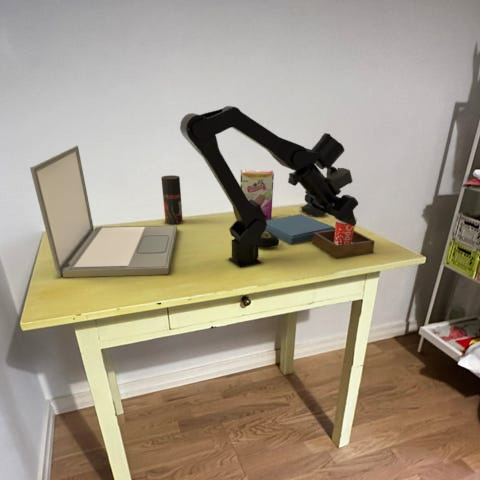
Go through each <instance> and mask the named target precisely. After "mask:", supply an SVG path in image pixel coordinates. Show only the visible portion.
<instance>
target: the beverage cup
mask: <svg viewBox="0 0 480 480" xmlns="http://www.w3.org/2000/svg"><path fill="white" fill-rule="evenodd" d="M354 217H355V220H356V223H357V221H358V218H357V217H356V216H354ZM334 221H335V226H334V228H335V239H334V242H333V243H334V244H336V245H343V244H350V243H352V242H351V241H352V236H353V232H354V231H355V226H356V225H355V226H352V225H349V224H347V223H345V222H342V221H340V220H338V219H336V218H335V217H334Z"/></svg>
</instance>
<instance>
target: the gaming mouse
mask: <svg viewBox="0 0 480 480" xmlns="http://www.w3.org/2000/svg"><path fill="white" fill-rule="evenodd" d="M300 208H301V211H302V212H303V213H305V214H306V215H307V216H311V217H324V216H326V215H327V213H325V212H323V211H320V210H318V209H316V208H314V207H312V206H311V205H309V204H308V203H306V204H305V205H303V206H302V205H301V206H300Z"/></svg>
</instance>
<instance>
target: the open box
mask: <svg viewBox="0 0 480 480" xmlns="http://www.w3.org/2000/svg"><path fill="white" fill-rule="evenodd" d="M334 239H335V230H330V231H322V232H314V233H313V240H312V243H311V244H312V245H313V246H315V247H316V248H318V249H320V250H321V251H323V252H324V253H326V255H329V256H330V257H332V258H333V259H340V258H346V257H354V256H360V255H367V254H373V253H374V249H375V244H376V240H373V239H372V238H370V237H368V236H366V235H364V234H362V233H360V232H358V231H356V230H354V232H353V236H352V241H351V243H350V244H343V245H336V244H334Z"/></svg>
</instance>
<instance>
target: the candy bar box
mask: <svg viewBox="0 0 480 480" xmlns="http://www.w3.org/2000/svg"><path fill="white" fill-rule="evenodd" d="M239 171H240V172H239V185H240V187H241V189H242V190H243V192H244V194H245V196H246V197H247V199H248V200H250V199H252V200H254V201H255V202H257V203H258V204H260V206H261V208H262V211H263V213H264V215H266V216H267V218H265V219H266V220H271V219H272V213H273V197H274V196H273V195H274V177H275V173H274V171H273V170H270V169H240V170H239Z"/></svg>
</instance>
